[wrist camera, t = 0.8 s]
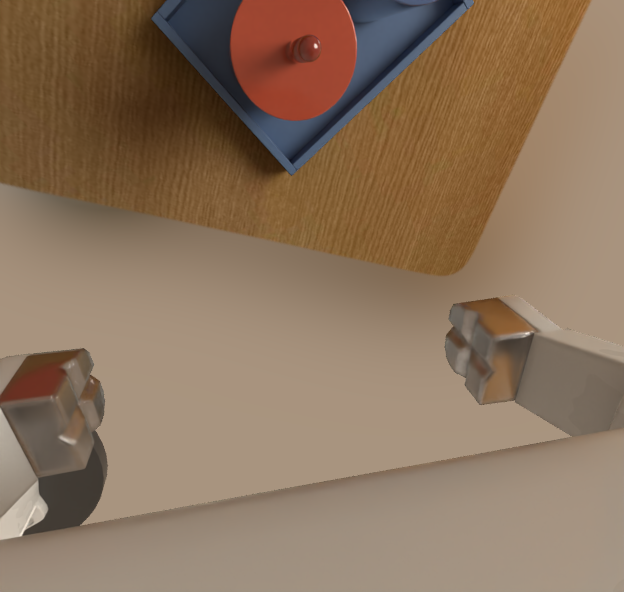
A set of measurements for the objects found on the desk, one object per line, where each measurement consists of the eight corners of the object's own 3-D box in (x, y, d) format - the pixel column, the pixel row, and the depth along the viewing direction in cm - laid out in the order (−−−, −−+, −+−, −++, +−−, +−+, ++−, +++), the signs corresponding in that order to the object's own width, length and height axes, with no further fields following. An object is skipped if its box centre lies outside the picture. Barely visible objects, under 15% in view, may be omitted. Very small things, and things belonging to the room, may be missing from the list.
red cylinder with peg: (272, 125, 31) (304, 163, 19) (208, 50, 28) (195, 36, 16) (336, 62, 30) (416, 58, 18) (276, -23, 27) (321, -101, 15)
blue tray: (288, 170, 34) (291, 176, 32) (155, 21, 27) (150, 18, 26) (460, 6, 30) (474, 3, 29) (353, -205, 24) (363, -226, 22)
